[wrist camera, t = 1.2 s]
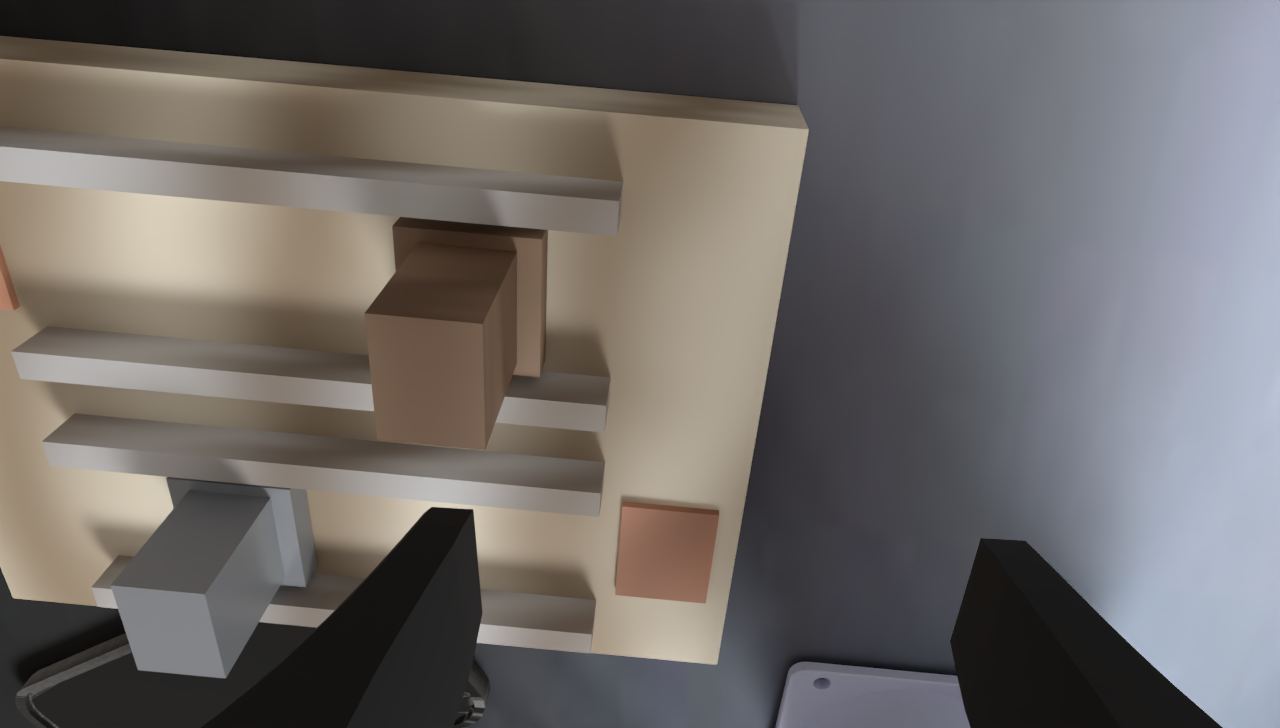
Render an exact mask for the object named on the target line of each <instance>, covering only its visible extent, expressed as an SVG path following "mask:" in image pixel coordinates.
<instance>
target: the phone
mask: <svg viewBox="0 0 1280 728" xmlns="http://www.w3.org/2000/svg"><path fill="white" fill-rule="evenodd" d="M315 629H316V627H306V626H295V625H285V624H274V623H264V622H259V623H258V624H257V626H256V628H255V630H254V631H253V633H252V635H251V636H250V638H249V640H248V642H247V643H246V645H245V647H244V648H243V650H242V652H241V654H240V655H239V657H238V659H237V660H236V662H235V664H234V665H233V667H232V669H231V671H230V672H229V674H228V676H227V677H226V678H215V677H205V676H194V675H184V674H173V673H163V672H152V671H142V670H138V669H137V666H136V663H135V659H134V656H133V653H132V650H131V647H130V644H129V641H128V638H127V635H126V633H124V634H122V635H119V636H117V637H115V638H112V639H110V640H108V641H105V642H103V643H101V644H99V645H96V646H94V647H92V648H89V649H87V650H85V651H82V652H80V653H78V654H75V655H73V656H71V657H68V658H66V659H64V660H62V661H59V662H57V663H55V664H52V665H50V666H48V667H45V668H43V669H41V670H38V671H37V672H36V673H34V674H33V675H32V676H31V677H30V678H29V680H28V681H27V682H26V683H25V684H24V685H23V687H22V688H21V689H20V690H19V691H18V693H17V695H16V697H15V703H16V706H17V708H18V710H19V711H20V713H21V714H22V715H23V716H24V717H25V718H26V719H27V720H29V721H30V722H31V723H33V724H34V725H35V726H36V727H38V728H200V727H201V726H203V725H204V724H205V723H207V722H208V721H209V720H211V719H212V718H213V717H215V716H216V715H217V714H219V713H220V712H221V711H222V710H224V709H225V708H226V707H227V706H229V705H230V704H231V703H232V702H234V701H235V700H236V699H237V698H238V697H240V696H241V695H242V694H243V693H245V692H246V691H247V690H248V689H250V688H251V687H252V686H253V685H254V684H255V683H257V682H258V681H259V680H260V679H261V678H263V677H264V676H265V675H266V674H267V673H268V672H269V671H271V670H272V669H273V668H274V667H275V666H276V665H277V664H279V663H280V662H281V661H282V660H283V659H284V658H285V657H286V656H287V655H288V654H290V653H291V652H292V651H293V650H294V649H295V648H296V647H297V646H298V645H299V644H300V643H301V642H302V641H303V640H304V639H305V638H306V637H308V636H309V635H310V634H311V633H312V632H313V631H314V630H315ZM489 691H490V683H489V680H488V678H487V676H486V675H485V673H484V672H483V671H482V670H481V669H480V668H479V666H478V665H477V664H476V663H475V662H474V661H473V662H472V666H471V671H470V675H469V680H468V683H467V686H466V689H465V692H464V695H463V698H462V701H461V704H460V707H459V710H458V713H457V716H456V719H455V722H454V725H453V728H462V727H465V726H468V725H471V724H473V723H475V722H477V721H478V720H479V719H480V718H481V717H482V716H483V713H484V710H485V707H486V703H487V699H488V695H489Z"/></svg>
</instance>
